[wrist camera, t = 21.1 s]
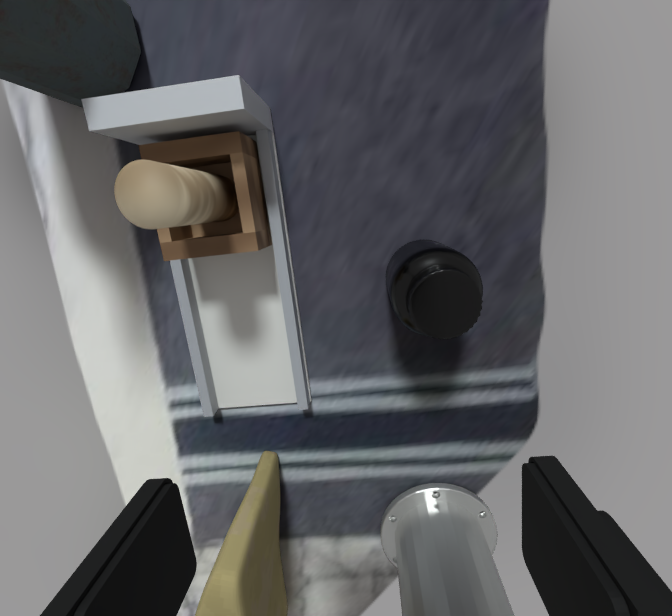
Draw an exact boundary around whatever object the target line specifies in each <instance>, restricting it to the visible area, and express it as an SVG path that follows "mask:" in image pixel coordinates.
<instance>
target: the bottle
mask: <svg viewBox="0 0 672 616" xmlns="http://www.w3.org/2000/svg"><path fill="white" fill-rule="evenodd" d="M140 54H141V49H140V45H139V41H138V37H137V32H136V28H135V24H134V20H133V16H132V11H131V7H130V6H129V4H128V3H127V2H126V0H0V79H3V80H6V81H9V82H12V83H15V84H17V85H20V86H23V87H26V88H29V89H32V90H34V91H37V92H40V93H43V94H46V95H49V96H51V97H54V98H57V99H60V100H63V101H66V102H68V103H71V104H74V105H77V106H80V107H83V104H82V100H81V99H86V98H93V97H99V96H106V95H112V94H119V93H122V92H123V91H125V90H126V89H128V88H129V87H130V84H131V81H132V78H133V75H134V72H135V69H136V66H137V63H138V60H139V57H140Z"/></svg>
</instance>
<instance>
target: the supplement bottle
mask: <svg viewBox="0 0 672 616" xmlns="http://www.w3.org/2000/svg"><path fill="white" fill-rule="evenodd" d="M386 285H387V289H388V294H389V298H390V302H391V305H392V308H393V311H394V313H395V315H396V316H397V318H398V319H399V320H400V322H401V323H402V324H403V325H404V326H406V327H407V328H408V329H410V330H411V331H413V332H415V333H417V334H420V335H424V336H429V337H433V338H438V339H443V338H445V339H449V338H455V337H456V336H461V335H462V334H463V333H465V332H467V331H468V330H469V329H470V328H472V327H473V325H474V323H476V322H477V319H478V317H479V316H480V311H481V309H482V306H481V304H482V302H483V301H482V296H483V285H482V280H481V276H480V274H479V272H478V270H477V268H476V267H475V265H474V264H473V263H472V262H471V261H470V260H469V259H468V258H467V257H466V256H465V255H463V254H462V253H460V252H458V251H456V250H454V249H452V248H450V247H448V246H445V245H443V244H441V243H439V242H436V241H432V240H416V241H412V242H410V243H407V244H405V245H404V246H402V247H401V248H399V249H398V250H397V251H396V252H395V253H394V255H393V256H392V258H391V259H390V261H389V263H388V266H387V270H386Z"/></svg>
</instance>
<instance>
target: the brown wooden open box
mask: <svg viewBox="0 0 672 616" xmlns="http://www.w3.org/2000/svg"><path fill="white" fill-rule="evenodd" d="M138 146H139V151H140V155H141V160H151V161H156V162H160V163H165V164H170V165H175V166H179V167H184V168H189V169H194V170H198V171H203V172H208V173H213V174H217V175H222V176H225V177H227V178H229V179H230V180H231V181H232V182H233V183H234V184H235V188H236V194H237V200H238V206H239V209H238V211H237V213H236V214H235V215H234V216H233V217H232V218H230V219H228V220H226V221H220V222H212V223H203V224H194V225H186V226H177V227H169V228H160V229H157V232H158V236H159V241H160V245H161V250H162V254H163V259H164V261H170V260H179V259H188V258H197V257H206V256H216V255H225V254H234V253H243V252H252V251H259V250H261V249H264V248H266V247H268V246H271V245H272V241H271V234H270V228H269V221H268V215H267V208H266V202H265V195H264V189H263V182H262V175H261V169H260V162H259V156H258V149H257V143H256V141H254V140H253V139H251V138H250V137H248V136H246V135H245V134H243V133H241V132H240V131H236V132H229V133H222V134H215V135H208V136H200V137H193V138H186V139H179V140H172V141H165V142H157V143H150V144H143V145H138Z"/></svg>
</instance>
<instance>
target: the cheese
mask: <svg viewBox="0 0 672 616" xmlns="http://www.w3.org/2000/svg"><path fill="white" fill-rule="evenodd" d="M279 521H280V478H279V462H278V456H277V454H276V453H275V452H271V451H264V452H263V453H262V455H261V457H260V460H259V463H258V466H257V468H256V471H255V474H254V476H253V479H252V481H251V484H250V486H249V488H248V491H247V493H246V495H245V497H244V499H243V501H242V503H241V505H240V507H239V509H238V511H237V513H236V516H235V518H234V520H233V522H232V524H231V526H230V528H229V531H228V533H227V535H226V538H225V540H224V542H223V545H222V547H221V549H220V552H219V554H218V557H217V559H216V562H215V564H214V566H213V569H212V571H211V573H210V576H209V578H208V580H207V583H206V585H205V588H204V590H203V593H202V596H201V599H200V601H199V604H198V608H197V611H196V614H195V616H287V611H288V604H287V597H286V591H285V584H284V577H283V570H282V563H281V555H280V544H279Z"/></svg>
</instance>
